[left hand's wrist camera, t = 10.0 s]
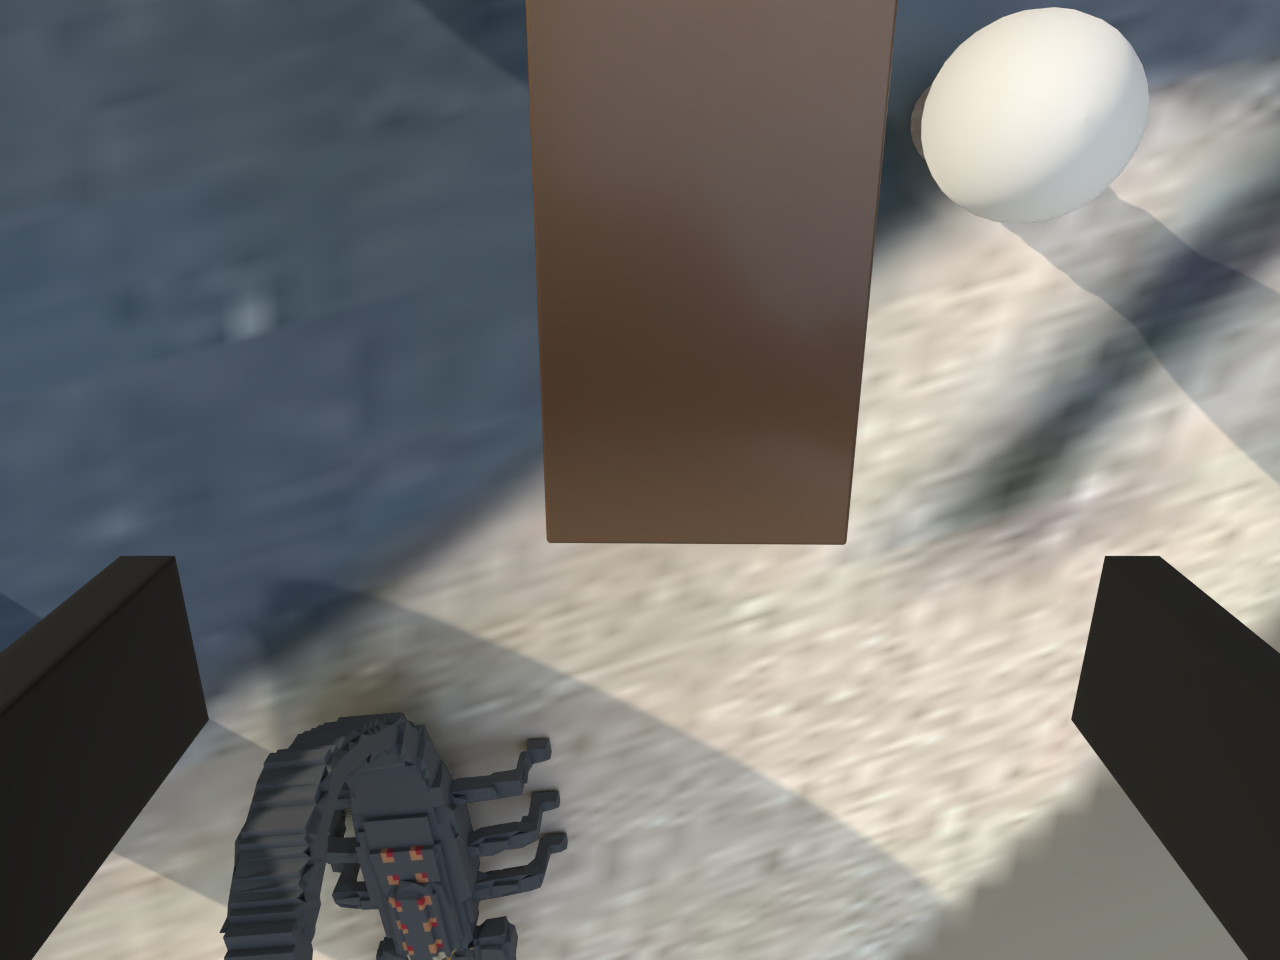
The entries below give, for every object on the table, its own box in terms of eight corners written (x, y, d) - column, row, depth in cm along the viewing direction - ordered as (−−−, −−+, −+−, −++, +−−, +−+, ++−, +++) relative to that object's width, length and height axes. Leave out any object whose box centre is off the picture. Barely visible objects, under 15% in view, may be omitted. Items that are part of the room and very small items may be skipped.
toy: (521, 589, 45) (440, 870, 27) (592, 980, 54) (565, 1370, 37) (261, 614, 45) (23, 904, 28) (376, 995, 55) (251, 1386, 38)
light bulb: (851, 169, 37) (926, 181, 27) (932, 1, 35) (1048, -55, 25) (992, 234, 38) (1117, 270, 28) (1079, 74, 36) (1251, 50, 26)
